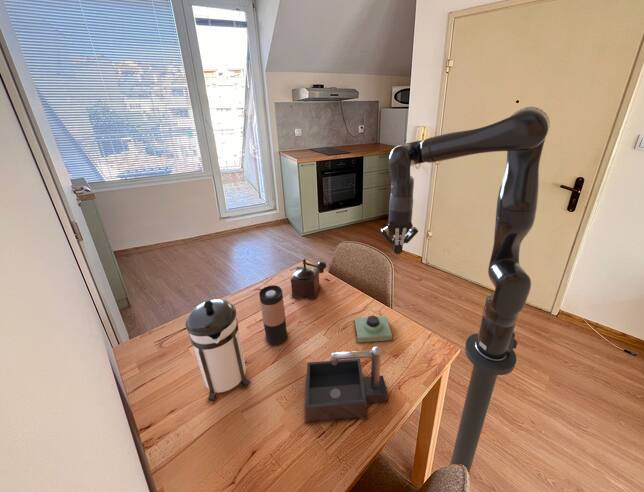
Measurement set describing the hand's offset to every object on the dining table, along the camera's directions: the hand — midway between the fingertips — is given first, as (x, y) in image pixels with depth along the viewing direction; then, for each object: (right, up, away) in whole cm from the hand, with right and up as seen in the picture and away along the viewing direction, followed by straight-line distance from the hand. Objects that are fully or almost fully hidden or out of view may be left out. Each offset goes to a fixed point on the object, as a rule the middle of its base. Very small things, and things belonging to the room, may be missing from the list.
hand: (397, 253), depth 102 cm
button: (-8, -26, +4) cm, 28 cm away
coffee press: (-56, -38, -11) cm, 68 cm away
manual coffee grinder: (-33, -20, +27) cm, 47 cm away
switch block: (-8, -29, +6) cm, 31 cm away
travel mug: (-43, -31, +3) cm, 53 cm away
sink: (-18, -40, -17) cm, 47 cm away
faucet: (-15, -36, -18) cm, 43 cm away
